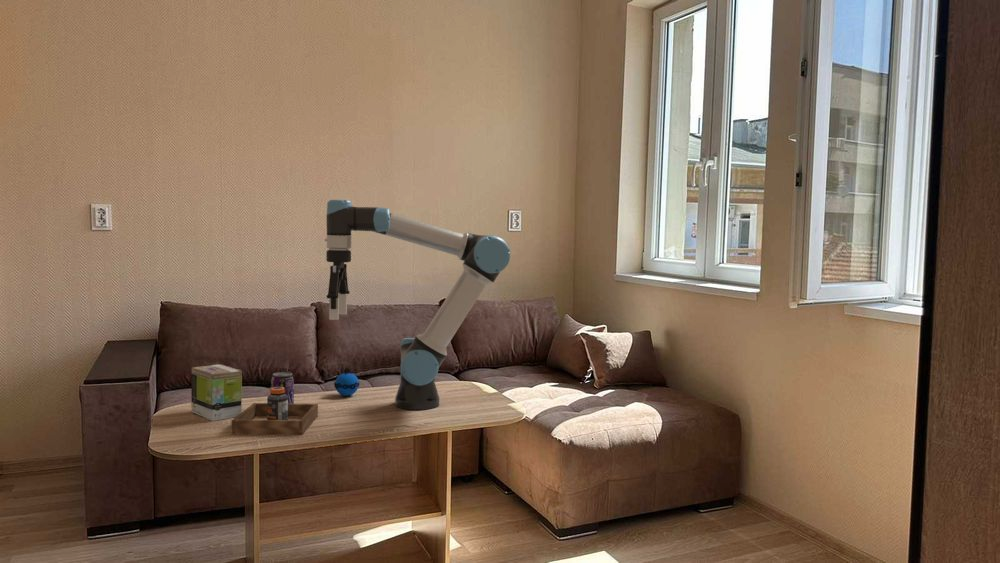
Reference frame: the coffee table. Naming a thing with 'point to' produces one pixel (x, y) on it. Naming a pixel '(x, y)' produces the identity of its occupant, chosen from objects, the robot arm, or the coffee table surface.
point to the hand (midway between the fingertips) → (338, 317)
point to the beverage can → (284, 384)
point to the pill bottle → (277, 404)
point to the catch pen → (275, 427)
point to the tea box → (216, 392)
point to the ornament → (346, 383)
